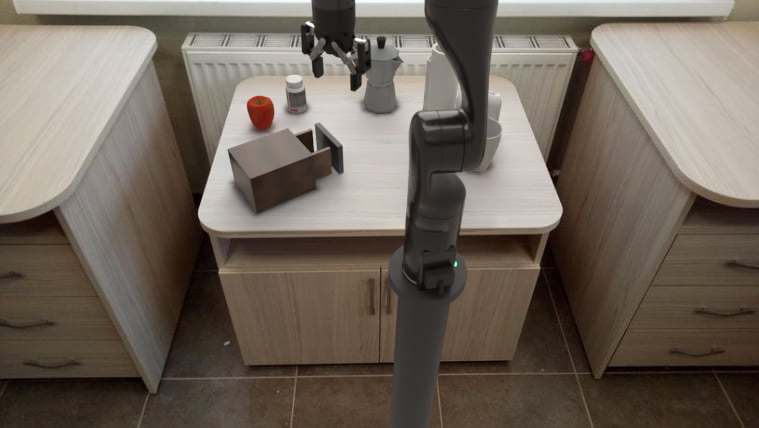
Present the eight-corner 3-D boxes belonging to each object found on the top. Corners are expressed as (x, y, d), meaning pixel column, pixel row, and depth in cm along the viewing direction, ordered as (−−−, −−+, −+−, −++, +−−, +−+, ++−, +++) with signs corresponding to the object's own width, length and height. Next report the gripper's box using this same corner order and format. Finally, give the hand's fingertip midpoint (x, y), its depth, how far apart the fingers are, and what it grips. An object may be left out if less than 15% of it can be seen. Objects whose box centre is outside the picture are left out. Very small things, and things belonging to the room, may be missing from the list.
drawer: (326, 147, 123) (324, 120, 118) (348, 170, 117) (347, 143, 112) (271, 168, 118) (266, 140, 113) (292, 193, 112) (288, 166, 107)
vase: (454, 132, 130) (465, 55, 116) (424, 132, 130) (431, 55, 116) (449, 106, 138) (458, 31, 124) (421, 105, 138) (427, 30, 124)
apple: (281, 124, 131) (278, 97, 126) (265, 137, 127) (260, 109, 122) (262, 116, 133) (257, 89, 128) (244, 128, 130) (239, 101, 124)
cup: (451, 159, 122) (456, 122, 115) (481, 149, 125) (487, 112, 118) (471, 180, 117) (478, 142, 110) (502, 169, 120) (510, 132, 113)
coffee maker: (410, 104, 138) (414, 38, 125) (391, 120, 133) (393, 53, 120) (362, 86, 144) (362, 21, 131) (343, 101, 139) (340, 34, 126)
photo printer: (451, 140, 127) (457, 94, 119) (451, 129, 130) (457, 84, 122) (495, 143, 127) (504, 97, 118) (494, 132, 130) (503, 87, 121)
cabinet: (292, 161, 121) (287, 127, 115) (316, 189, 114) (313, 155, 108) (234, 183, 115) (227, 149, 109) (256, 213, 109) (249, 179, 102)
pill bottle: (310, 108, 136) (308, 78, 130) (296, 115, 134) (293, 85, 128) (298, 101, 139) (295, 71, 133) (284, 108, 136) (280, 78, 130)
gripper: (286, -4, 93) (295, 80, 104) (355, 17, 88) (356, 103, 99) (313, -18, 97) (319, 64, 109) (380, 1, 92) (378, 85, 103)
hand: (337, 82), depth 104 cm, fingers open, 8 cm apart
